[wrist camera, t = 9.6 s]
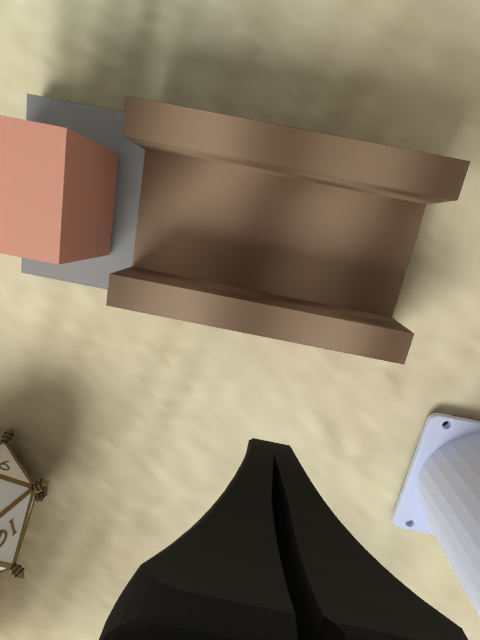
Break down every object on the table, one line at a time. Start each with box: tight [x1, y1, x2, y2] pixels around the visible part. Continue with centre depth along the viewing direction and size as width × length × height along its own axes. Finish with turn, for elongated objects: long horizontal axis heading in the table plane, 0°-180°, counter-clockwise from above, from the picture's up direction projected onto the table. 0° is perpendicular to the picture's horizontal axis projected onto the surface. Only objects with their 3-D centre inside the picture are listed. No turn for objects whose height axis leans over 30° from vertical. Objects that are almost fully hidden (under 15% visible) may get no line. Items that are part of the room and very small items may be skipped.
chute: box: [106, 96, 470, 364], centre depth 18 cm, size 14×9×4 cm, turn 80°
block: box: [0, 115, 119, 265], centre depth 16 cm, size 5×5×5 cm
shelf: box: [21, 94, 145, 289], centre depth 19 cm, size 6×9×1 cm
